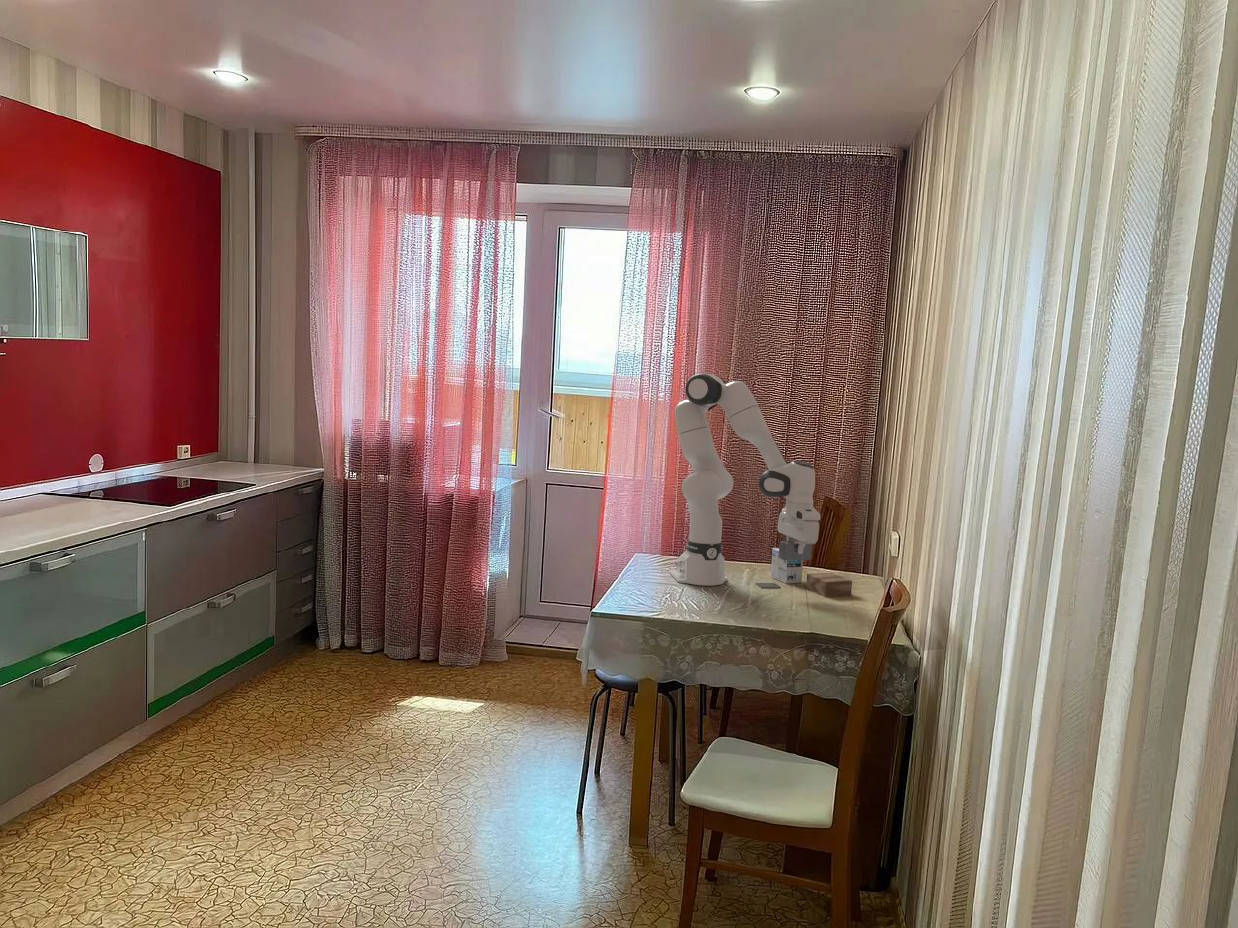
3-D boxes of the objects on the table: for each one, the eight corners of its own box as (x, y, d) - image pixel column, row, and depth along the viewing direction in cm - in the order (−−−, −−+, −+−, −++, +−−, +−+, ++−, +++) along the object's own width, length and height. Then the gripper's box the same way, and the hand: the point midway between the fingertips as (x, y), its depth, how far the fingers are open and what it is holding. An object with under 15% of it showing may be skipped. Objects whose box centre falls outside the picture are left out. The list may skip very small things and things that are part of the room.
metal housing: (778, 557, 308) (779, 541, 308) (804, 556, 312) (806, 540, 311) (784, 560, 304) (785, 543, 304) (810, 559, 308) (812, 543, 307)
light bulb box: (802, 583, 326) (804, 553, 325) (785, 584, 323) (787, 553, 322) (785, 576, 336) (787, 546, 335) (769, 577, 333) (771, 547, 332)
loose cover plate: (755, 585, 322) (755, 582, 322) (774, 585, 323) (774, 582, 323) (761, 589, 316) (761, 586, 316) (780, 589, 317) (780, 586, 317)
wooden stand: (806, 588, 319) (807, 573, 318) (831, 586, 322) (832, 572, 322) (825, 596, 308) (826, 582, 307) (851, 595, 311) (852, 580, 310)
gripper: (774, 504, 315) (771, 544, 316) (806, 516, 296) (802, 558, 297) (791, 504, 317) (787, 544, 319) (823, 516, 298) (819, 558, 299)
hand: (795, 551), depth 308 cm, fingers closed on metal housing, 4 cm apart
